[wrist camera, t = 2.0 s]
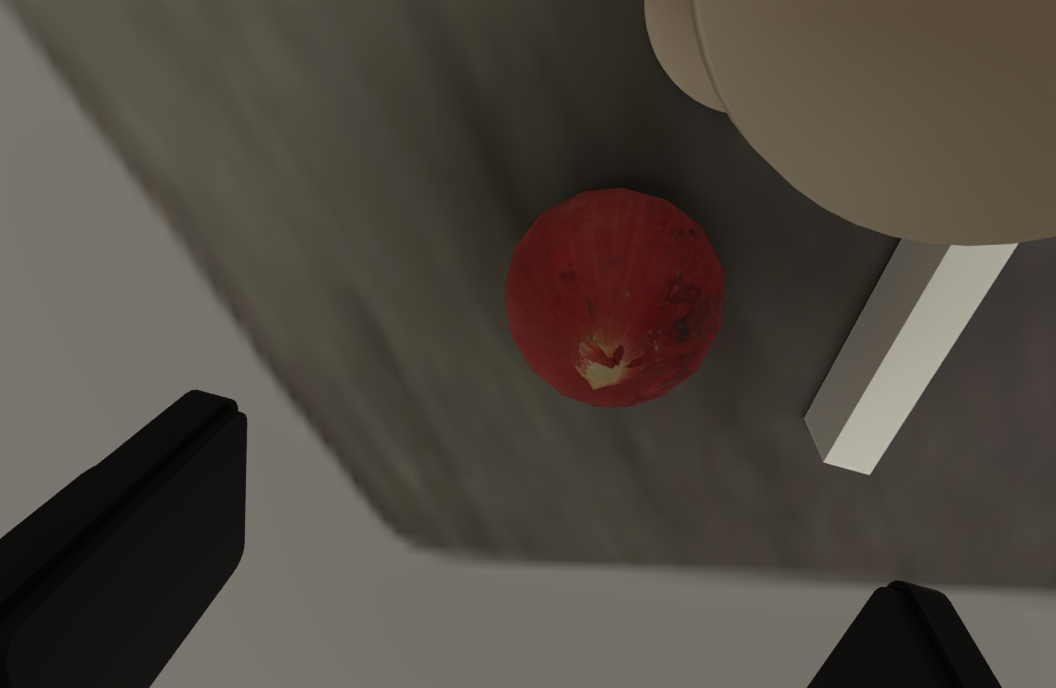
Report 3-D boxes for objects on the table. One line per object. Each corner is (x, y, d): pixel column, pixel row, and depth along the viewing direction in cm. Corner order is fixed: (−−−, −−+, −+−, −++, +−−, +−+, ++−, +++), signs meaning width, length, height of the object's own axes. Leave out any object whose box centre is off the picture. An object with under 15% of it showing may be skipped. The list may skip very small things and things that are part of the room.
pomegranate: (709, 154, 18) (757, 233, 11) (707, 329, 21) (745, 484, 14) (516, 172, 19) (450, 254, 12) (537, 336, 22) (492, 483, 15)
